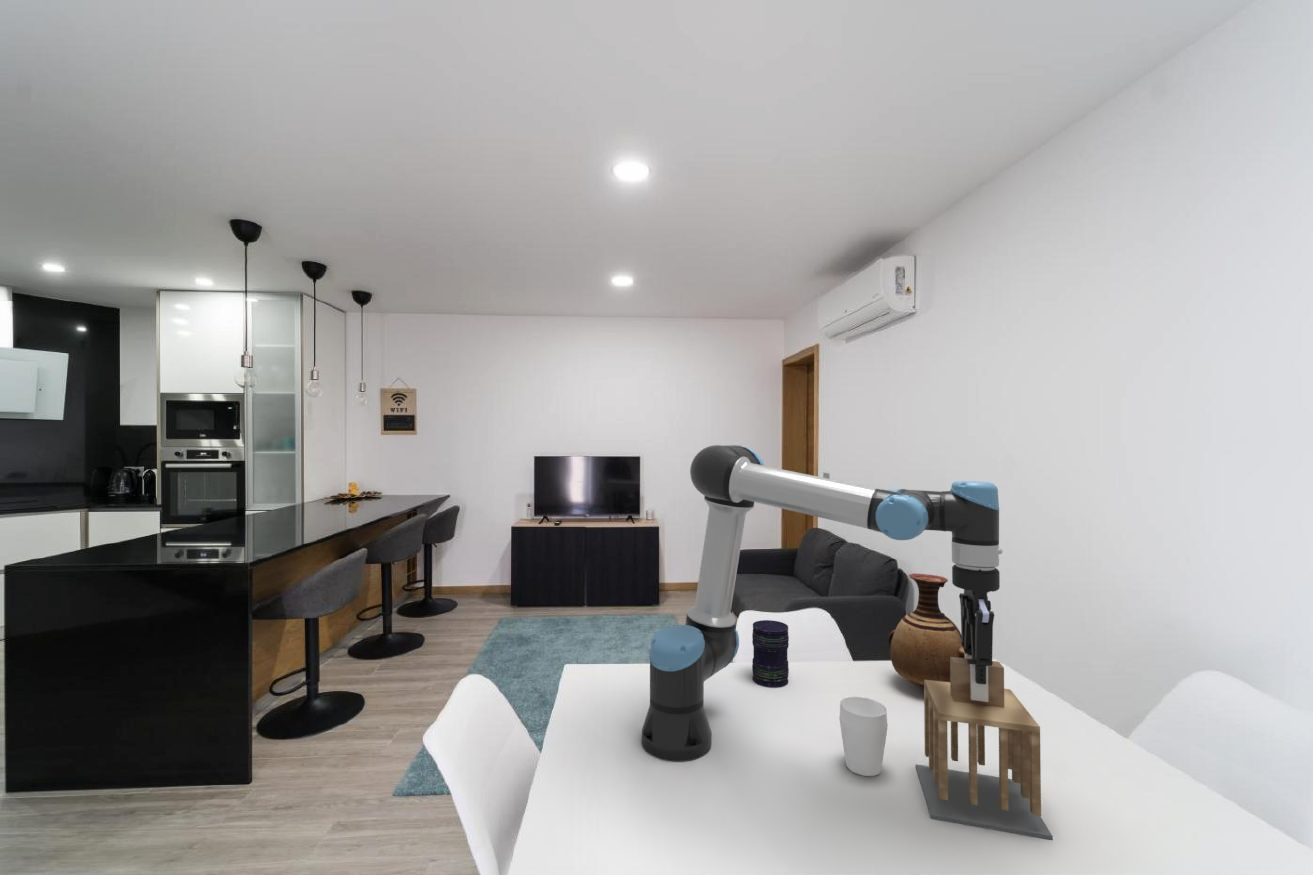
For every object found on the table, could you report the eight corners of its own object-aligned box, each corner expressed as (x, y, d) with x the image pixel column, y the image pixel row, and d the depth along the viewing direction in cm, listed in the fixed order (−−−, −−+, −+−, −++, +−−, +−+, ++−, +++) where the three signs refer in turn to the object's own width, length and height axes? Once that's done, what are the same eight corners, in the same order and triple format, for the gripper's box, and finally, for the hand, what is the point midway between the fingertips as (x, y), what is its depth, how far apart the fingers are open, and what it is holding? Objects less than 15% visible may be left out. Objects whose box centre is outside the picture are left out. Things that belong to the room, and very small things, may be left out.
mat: (930, 818, 95) (930, 814, 95) (915, 767, 110) (915, 764, 110) (1052, 839, 90) (1052, 836, 90) (1018, 783, 105) (1018, 780, 105)
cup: (892, 783, 105) (892, 719, 105) (842, 777, 107) (842, 714, 107) (882, 757, 114) (882, 698, 114) (836, 752, 115) (836, 694, 116)
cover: (940, 799, 95) (939, 672, 95) (924, 753, 109) (923, 644, 110) (1041, 816, 91) (1039, 683, 91) (1011, 766, 105) (1009, 652, 105)
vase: (872, 678, 153) (872, 570, 154) (925, 671, 159) (924, 566, 159) (932, 713, 133) (931, 588, 133) (990, 703, 138) (989, 583, 139)
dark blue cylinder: (767, 670, 159) (767, 617, 159) (796, 681, 151) (796, 626, 151) (744, 679, 152) (744, 624, 153) (773, 691, 145) (773, 633, 145)
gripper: (1013, 577, 92) (1015, 719, 91) (985, 559, 108) (986, 680, 107) (963, 573, 94) (964, 712, 94) (943, 556, 110) (944, 675, 109)
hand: (976, 695), depth 100 cm, fingers closed on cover, 3 cm apart
